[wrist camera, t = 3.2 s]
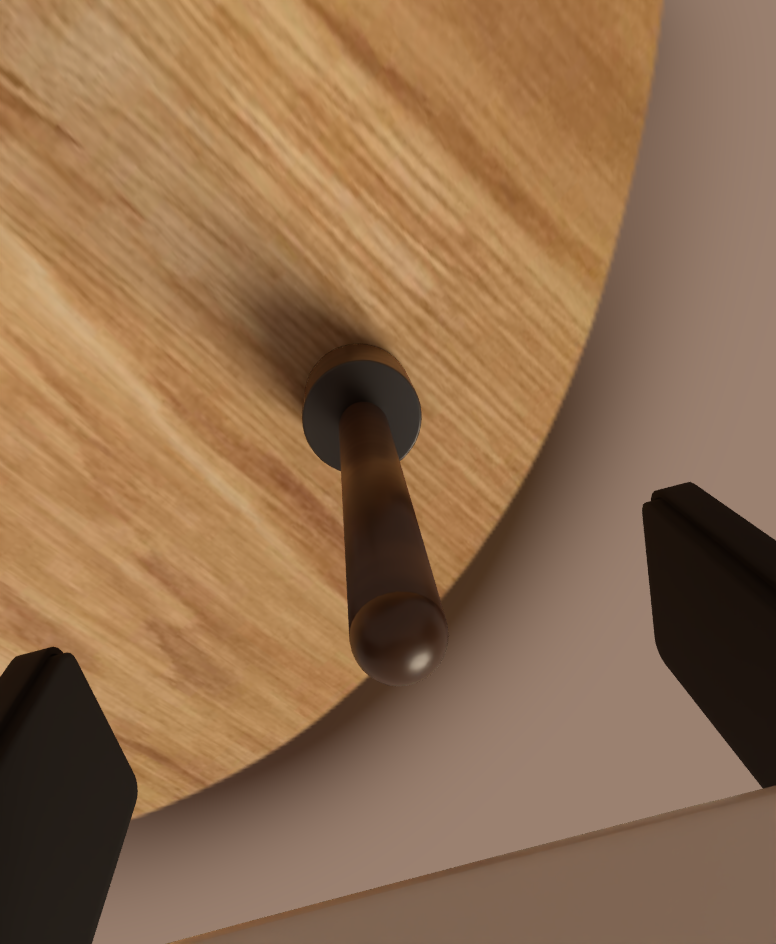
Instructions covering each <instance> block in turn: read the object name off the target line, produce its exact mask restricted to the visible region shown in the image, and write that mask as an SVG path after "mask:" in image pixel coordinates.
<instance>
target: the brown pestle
mask: <svg viewBox="0 0 776 944" xmlns="http://www.w3.org/2000/svg"><path fill="white" fill-rule="evenodd" d="M421 420H422V416H421V406H420V402H419V398H418V396H417V394H416V391H415V389H414V387H413V385H412V383H411V381H410V379H409V377H408V375H407V373H406V371H405V370H404V368H403V367H402V365H401V364H400V363H399V362H398V360H397V359H395V358H394V357H393V356H392V355H391V354H389V353H388V352H386V351H384V350H382V349H380V348H378V347H375V346H371V345H366V344H351V345H346V346H342V347H339V348H337V349H335V350H333V351H331V352H329V353H328V354H326V355H325V356H324V357H323V358H322V359H320V361H319V362H318V363H317V364H316V365H315V367H314V368H313V370H312V371H311V373H310V375H309V378H308V381H307V384H306V389H305V396H304V404H303V411H302V423H303V429H304V434H305V436H306V439H307V441H308V443H309V445H310V447H311V448H312V450H313V451H314V453H315V454H316V455H317V456H318V457H319V458H320V459H321V460H322V461H324V462H325V463H326V464H328V465H329V466H331V467H332V468H335V469H337V470H339V471H341V481H342V501H343V521H344V541H345V561H346V581H347V600H348V620H349V639H350V645H351V649H352V653H353V655H354V657H355V660H356V661H357V663H358V664H359V666H360V667H361V668H362V670H363V671H364V672H365V673H366V674H368V675H369V676H370V677H371V678H373V679H375V680H376V681H378V682H380V683H383V684H386V685H392V686H406V685H411V684H414V683H417V682H420V681H421V680H423V679H425V678H427V677H428V676H429V675H431V674H432V673H433V672H434V671H435V670H436V669H437V667H438V666H439V664H440V663H441V661H442V659H443V658H444V655H445V652H446V649H447V645H448V627H447V622H446V618H445V614H444V611H443V608H442V604H441V601H440V597H439V594H438V591H437V587H436V584H435V580H434V577H433V573H432V570H431V567H430V563H429V560H428V556H427V553H426V550H425V546H424V543H423V539H422V536H421V533H420V529H419V526H418V522H417V519H416V515H415V512H414V509H413V505H412V502H411V498H410V495H409V492H408V488H407V485H406V481H405V478H404V475H403V471H402V468H401V464H400V460H402V459H403V458H404V457H405V456H406V455H407V454H408V453H409V451H410V450H411V449H412V447H413V445H414V444H415V442H416V440H417V437H418V435H419V431H420V427H421Z"/></svg>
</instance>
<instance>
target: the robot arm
mask: <svg viewBox="0 0 776 944" xmlns="http://www.w3.org/2000/svg"><path fill="white" fill-rule="evenodd" d="M642 514H643V525H644V534H645V545H646V555H647V565H648V575H649V585H650V595H651V605H652V615H653V624H654V635H655V642H656V646H657V649H658V651H659V654H660V656H661V658H662V660H663V661H664V663H665V664H666V666H667V667H668V668H669V669H670V670H671V672H672V673H673V674H674V676H675V677H676V678H677V680H678V681H679V682H680V683H681V685H682V686H683V687H684V688H685V690H686V691H687V692H688V694H689V695H690V696H691V697H692V699H693V700H694V701H695V703H696V704H697V705H698V706H699V707H700V709H701V710H702V711H703V713H704V714H705V715H706V717H707V718H708V719H709V720H710V722H711V723H712V724H713V725H714V727H715V728H716V729H717V731H718V732H719V733H720V734H721V736H722V737H723V738H724V739H725V741H726V742H727V743H728V745H729V746H730V747H731V748H732V750H733V751H734V752H735V753H736V755H737V756H738V757H739V759H740V760H741V761H742V762H743V764H744V765H745V766H746V767H747V769H748V770H749V771H750V773H751V774H752V775H753V776H754V778H755V779H756V780H757V781H758V783H759V784H760V785H761V787H762V788H763V789H760V790H756V791H753V792H748V793H744V794H741V795H737V796H733V797H729V798H725V799H721V800H716V801H712V802H708V803H703V804H699V805H695V806H691V807H687V808H683V809H679V810H675V811H671V812H667V813H663V814H659V815H656V816H652V817H648V818H644V819H640V820H636V821H632V822H628V823H624V824H620V825H616V826H613V827H609V828H605V829H601V830H597V831H593V832H589V833H585V834H582V835H578V836H574V837H570V838H566V839H562V840H558V841H554V842H550V843H546V844H542V845H539V846H535V847H531V848H527V849H523V850H519V851H515V852H511V853H507V854H504V855H500V856H496V857H492V858H488V859H484V860H480V861H477V862H473V863H469V864H465V865H461V866H458V867H454V868H450V869H446V870H442V871H439V872H435V873H431V874H427V875H423V876H419V877H416V878H412V879H408V880H404V881H400V882H396V883H393V884H389V885H385V886H381V887H378V888H374V889H370V890H366V891H362V892H359V893H355V894H351V895H347V896H343V897H339V898H336V899H332V900H328V901H324V902H320V903H317V904H313V905H309V906H305V907H302V908H298V909H294V910H290V911H287V912H283V913H279V914H275V915H271V916H267V917H264V918H260V919H256V920H252V921H249V922H245V923H241V924H237V925H234V926H230V927H226V928H223V929H219V930H216V931H211V932H208V933H204V934H200V935H197V936H193V937H189V938H185V939H182V940H178V941H175V942H171V943H167V944H776V541H775V540H774V539H773V538H771V537H769V536H768V535H767V534H766V533H764V532H763V531H761V530H760V529H758V528H757V527H756V526H754V525H753V524H751V523H750V522H748V521H747V520H746V519H744V518H743V517H741V516H740V515H738V514H737V513H735V512H734V511H733V510H731V509H730V508H728V507H727V506H725V505H724V504H723V503H721V502H720V501H718V500H717V499H715V498H714V497H712V496H711V495H710V494H708V493H707V492H705V491H704V490H703V489H701V488H700V487H698V486H697V485H695V484H694V483H691V482H688V483H683V484H679V485H676V486H672V487H668V488H664V489H660V490H657V491H654V492H653V493H652V497H651V501H650V502H646V503H644V504H643V508H642ZM137 792H138V790H137V782H136V778H135V775H134V773H133V771H132V769H131V767H130V765H129V763H128V761H127V759H126V757H125V755H124V753H123V751H122V749H121V747H120V745H119V743H118V741H117V739H116V737H115V735H114V733H113V731H112V729H111V727H110V725H109V723H108V721H107V719H106V717H105V715H104V714H103V712H102V710H101V708H100V706H99V704H98V702H97V700H96V698H95V696H94V694H93V692H92V690H91V688H90V686H89V684H88V682H87V680H86V678H85V676H84V674H83V672H82V670H81V668H80V666H79V664H78V662H77V660H76V659H75V657H74V656H73V655H72V654H71V653H63V652H62V651H61V650H60V649H59V648H56V647H50V648H46V649H42V650H39V651H35V652H31V653H27V654H23V655H20V656H16V657H15V658H14V659H13V660H12V661H11V662H10V664H9V665H8V667H7V668H6V670H5V671H4V672H3V674H2V675H1V677H0V944H92V941H93V938H94V935H95V932H96V928H97V925H98V922H99V919H100V916H101V912H102V909H103V906H104V903H105V900H106V897H107V893H108V890H109V887H110V884H111V880H112V877H113V874H114V871H115V868H116V864H117V861H118V858H119V855H120V851H121V849H122V845H123V842H124V839H125V836H126V833H127V829H128V826H129V823H130V820H131V817H132V813H133V810H134V807H135V804H136V800H137Z"/></svg>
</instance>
